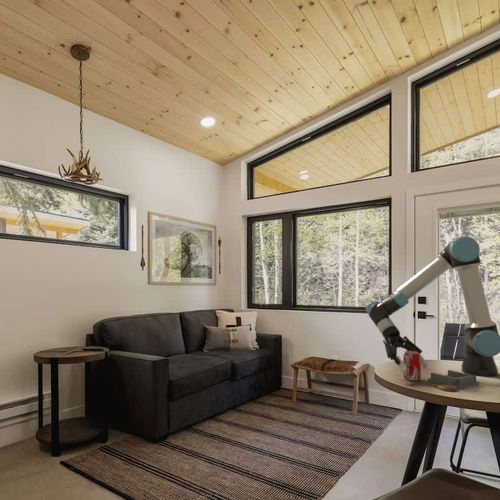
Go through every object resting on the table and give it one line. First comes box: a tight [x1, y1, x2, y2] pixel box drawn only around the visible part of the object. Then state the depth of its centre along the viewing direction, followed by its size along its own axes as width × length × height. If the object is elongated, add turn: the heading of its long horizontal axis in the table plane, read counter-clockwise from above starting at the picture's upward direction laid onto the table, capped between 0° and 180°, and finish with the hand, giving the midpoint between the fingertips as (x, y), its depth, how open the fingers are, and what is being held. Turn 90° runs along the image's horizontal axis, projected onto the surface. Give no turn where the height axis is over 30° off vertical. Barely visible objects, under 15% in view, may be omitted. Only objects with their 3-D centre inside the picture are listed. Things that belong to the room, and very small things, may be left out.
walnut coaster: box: [437, 384, 458, 393], centre depth 161 cm, size 7×7×1 cm
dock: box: [427, 369, 480, 390], centre depth 170 cm, size 14×14×4 cm
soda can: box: [402, 350, 422, 382], centre depth 176 cm, size 7×7×12 cm
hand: (415, 369), depth 174 cm, fingers open, 13 cm apart
